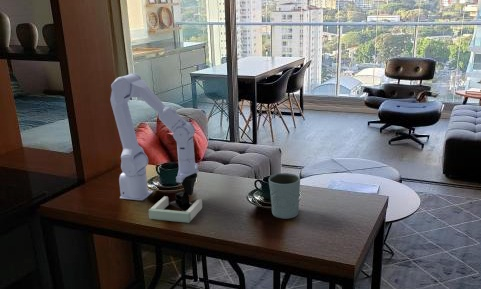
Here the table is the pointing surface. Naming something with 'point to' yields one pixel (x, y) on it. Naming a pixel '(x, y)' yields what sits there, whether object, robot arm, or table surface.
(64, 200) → the table surface
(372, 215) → the table surface
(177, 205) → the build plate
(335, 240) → the table surface
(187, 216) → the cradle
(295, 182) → the pale green cup
